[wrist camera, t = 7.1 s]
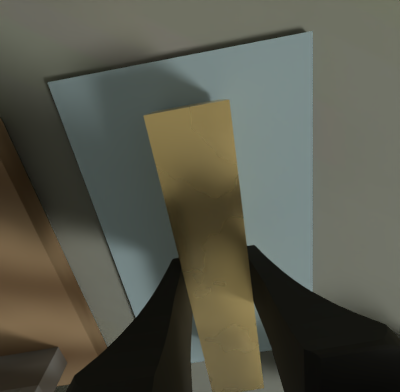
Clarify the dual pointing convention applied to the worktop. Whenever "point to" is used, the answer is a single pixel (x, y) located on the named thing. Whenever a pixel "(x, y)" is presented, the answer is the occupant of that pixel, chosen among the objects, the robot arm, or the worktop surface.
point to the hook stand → (37, 292)
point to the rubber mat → (244, 145)
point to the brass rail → (210, 235)
